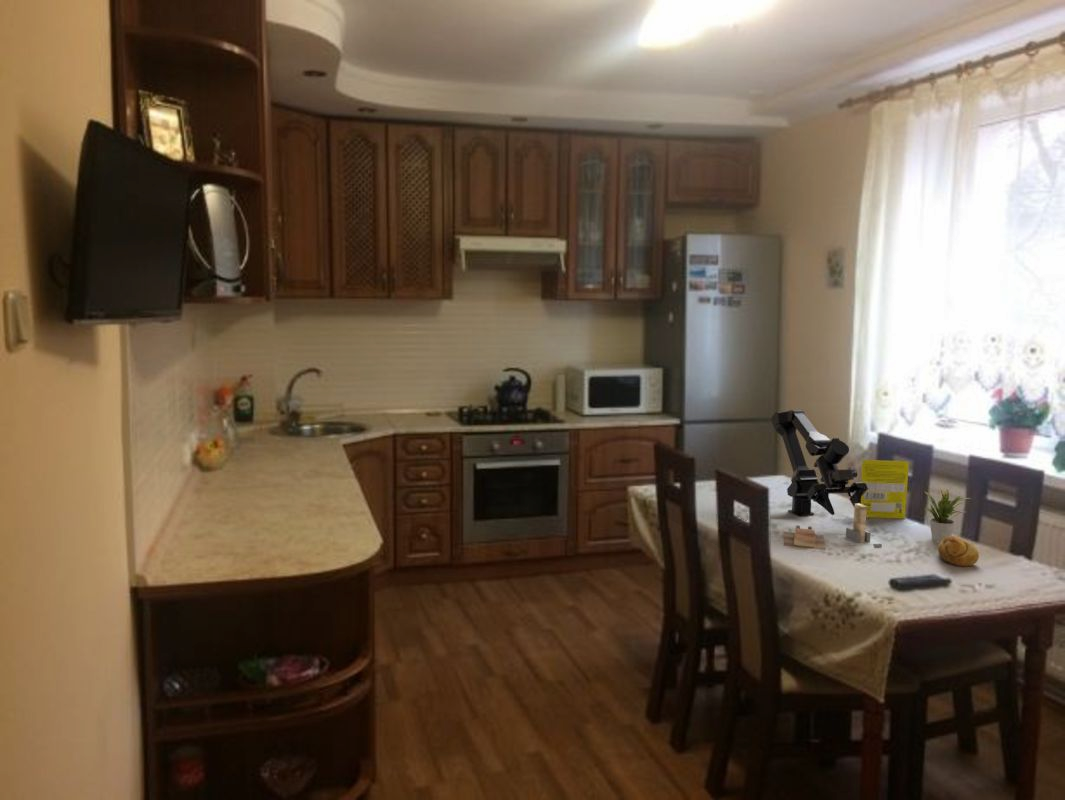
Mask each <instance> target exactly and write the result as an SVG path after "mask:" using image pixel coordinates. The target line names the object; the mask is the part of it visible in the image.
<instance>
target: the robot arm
mask: <svg viewBox="0 0 1065 800" xmlns="http://www.w3.org/2000/svg"><path fill="white" fill-rule="evenodd" d="M805 413H806V412H804V410H802V409H790V410H787V411H775V412H774V413H773V415H772V416H771V424H772V425H773V428H774V430H775V432H777V434H779V435H780V436H781V437H782V440H783V443H784V447H785V450H786V453H787V457H788V459H789V462H790V465H791V469H792V472H793V474H792V476H791V479H790V481H791V483H790V485H789V486H788V487H787V489H786V492H787V496H789V497H790V498H791V497H792V499H791V509H788V510H787V511H788V512H789V513H790V514H793V515H796V516H798V517H802V516H813V515H815V512H812V502H815V503H817V504H819V506H821V507H822V508H823V509H824V510H826V511H827V512H828V513H829V514H830V515H831V516H834V515H835V514H836V513H835V510H834V507H833V504H832V502H831V500H830V497H829V495H830V494H847V496H848V497H849V501H850V503H851V505H852V506H853V508H855V504H857V503H859V504H861V496H862V495H863V494H864V493H865V492H866V491H867V490H868V487H867V484H866V483H864V482H861V481H857V482H855V481H854V482H853V483H852V484H851V485H850V486H846V485H848V484H849V483H850V482H849V481H851V480H855V478H857V477H858V471H857V469H856V467H849V468H847V469H839V466H838V465H839V464H841V462H842V461H843V460H844V459H845V457H846V456H847V455H848V454H849V453H850V448H849V445H848V444H846V442H844V441H842V440H840V437H833V438H832V439H830V438H828V436H826V435H825V434H822V433H820V432H819V431H818V430H817V429H816V428H815V427H814V425H813V424H812V423H811V421H810V420H809V419H808V417H807V416H806V414H805ZM797 431H798V432H799V434H800V435H801V436H802V438H803V439H804V441H805V446H804V447H805V449H806V451H807V453H808V454H809V456H811V457H818V458H816V459H815V462H814V464H813V467H814V468H818V470H819V473H820V476H821V478H820V479H819V478H818V476H817V473H816V472H817V471H816V470H815V469H811V468H809V467H808V465H807V462H806V458H805V456H804V452H803V450H802V447H801V444H800V441H799V437H798V435H797ZM819 480H820V482H821V483H820V482H819Z"/></svg>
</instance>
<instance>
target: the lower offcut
mask: <svg viewBox="0 0 1065 800" xmlns="http://www.w3.org/2000/svg"><path fill="white" fill-rule="evenodd" d="M815 542H816V539H815V540H814V539H802V538H796V536H795V534H794V545H799V546H810V547H815Z"/></svg>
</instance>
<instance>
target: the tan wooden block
mask: <svg viewBox="0 0 1065 800" xmlns="http://www.w3.org/2000/svg"><path fill="white" fill-rule="evenodd" d="M853 508H854V507H853ZM866 512H867V507H866V506H864V505H862V504H859V503H857V504H855V508H854V512H853V527H852V529H853V530H855V531H857V532H859V533H860V542H865V530H866V525H867V517H866Z"/></svg>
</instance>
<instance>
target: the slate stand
mask: <svg viewBox="0 0 1065 800" xmlns="http://www.w3.org/2000/svg"><path fill="white" fill-rule="evenodd" d="M871 533H872V532H871V531H868V530H867V529H865V542H860V533H859V532H857V531H855V530H853V528H851V527H846V528H845V534H840V535H837V534H836V535H835V534H834V537H835V538H838V539H839V540H842V541H844V542H845V543H848V545H851V546H864V545H873V547H874V548H880V547H881V548H882V547H883V543H882V542H880V541H878V540H876V539H874V538H872V537H871Z"/></svg>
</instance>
